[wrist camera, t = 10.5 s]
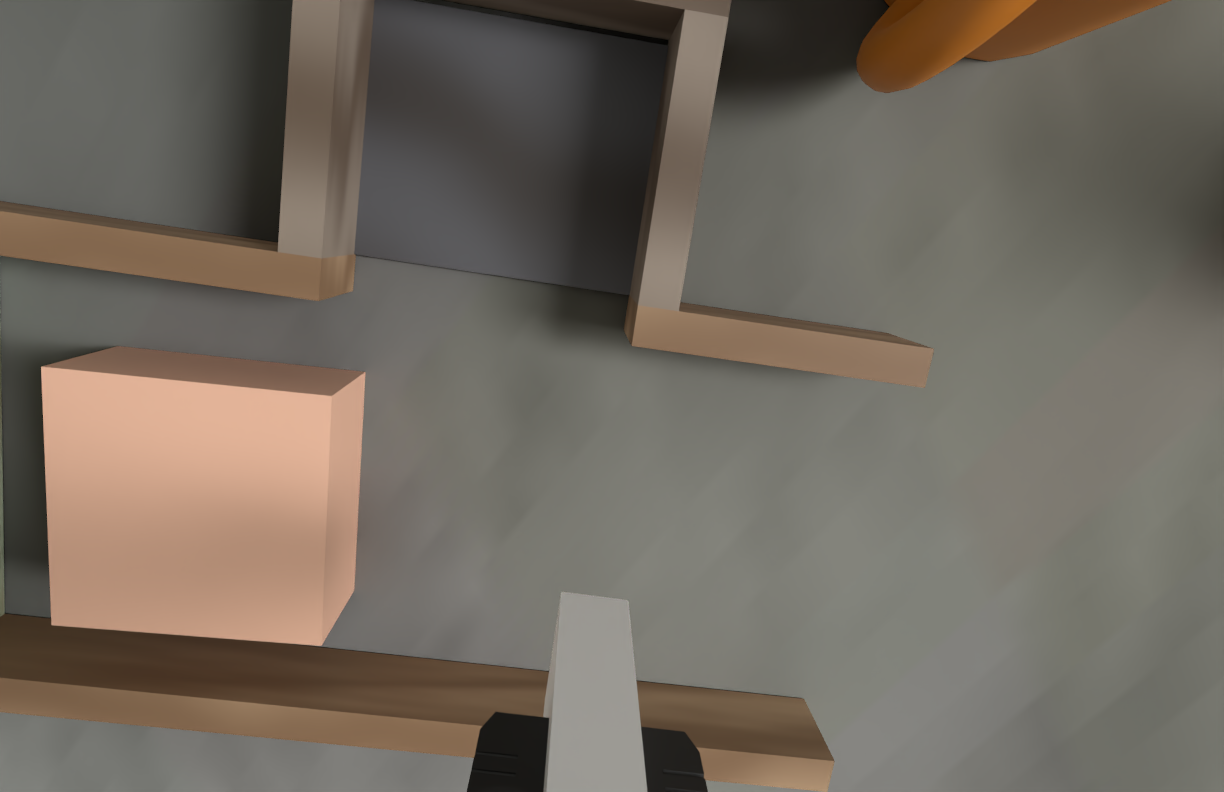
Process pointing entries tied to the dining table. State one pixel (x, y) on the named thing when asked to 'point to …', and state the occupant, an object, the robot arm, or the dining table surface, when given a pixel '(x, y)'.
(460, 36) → the wooden tray frame
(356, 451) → the block
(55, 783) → the dining table surface
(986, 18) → the mug
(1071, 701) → the dining table surface
